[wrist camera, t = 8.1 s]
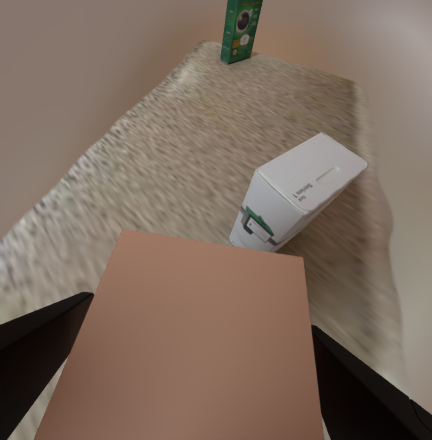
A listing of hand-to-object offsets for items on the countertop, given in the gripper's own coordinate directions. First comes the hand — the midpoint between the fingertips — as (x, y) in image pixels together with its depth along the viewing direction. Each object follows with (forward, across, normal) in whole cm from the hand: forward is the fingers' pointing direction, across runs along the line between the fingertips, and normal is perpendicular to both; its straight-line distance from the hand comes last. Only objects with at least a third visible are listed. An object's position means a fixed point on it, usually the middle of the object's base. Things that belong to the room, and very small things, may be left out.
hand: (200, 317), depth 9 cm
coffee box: (+49, 0, -32) cm, 59 cm away
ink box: (+17, -7, +1) cm, 18 cm away
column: (+5, 0, +7) cm, 9 cm away
